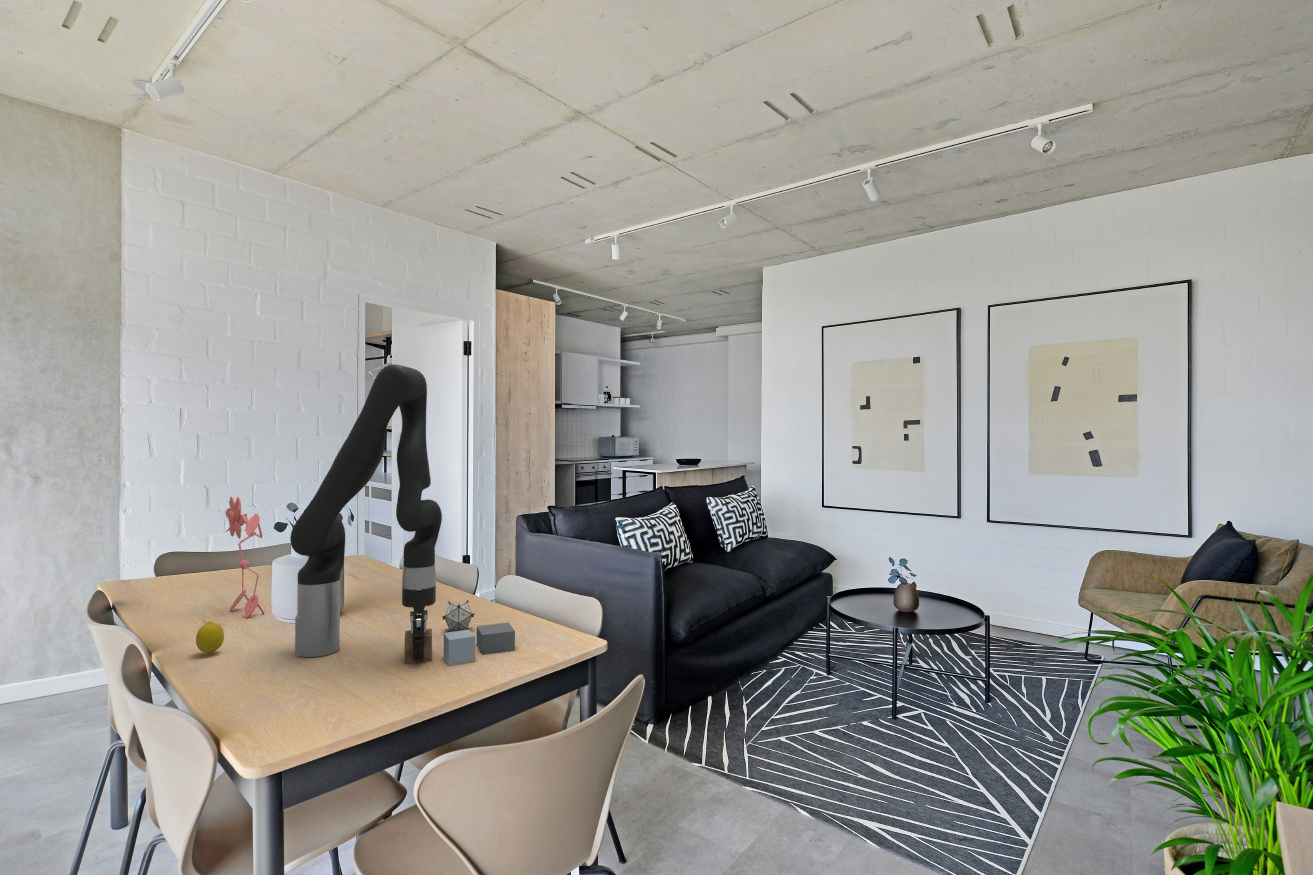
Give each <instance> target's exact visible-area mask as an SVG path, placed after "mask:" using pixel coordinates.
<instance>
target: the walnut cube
mask: <svg viewBox="0 0 1313 875" xmlns="http://www.w3.org/2000/svg"><path fill="white" fill-rule="evenodd" d="M415 638H422V634H416V635H415ZM424 639H425V642H424V657H423V659H422V660H414V659H413V646H414V644H413V643H412V640H413V634H411V629H410V630H405V631H404V654H403V655H404V660H403V661H404V665H409V664H417V663H418V664H419V663H420V664H421V663H427V662H432V661H433V628H431V627H430V628H426V633H425V634H424Z"/></svg>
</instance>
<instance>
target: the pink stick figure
mask: <svg viewBox="0 0 1313 875" xmlns="http://www.w3.org/2000/svg"><path fill="white" fill-rule="evenodd" d="M241 502H242V501H241V498H240V497H239V496H237V497H236V499H235V498H234V497H233V496H230V497H229V501H228V505H229V507H228V508H226V510H225V516H226V518H227V520H228V524H229V527H228V528H227V530H226V531H225V532H226V533H228V532H229V534H230V536H231V537H234V536H235V535H236V538H238V539H239V540H240V539H241V537H242V526H244V525H245V529H244V532H245V533H246V534H245V535H247V536H246V537H245V538H244V539H241V540H240V541H239V543H238V544H237V545H238V549H239V554H240V558H241V560H240V561H239V562H238V567H239V568H240V569H241V577H242V578H241V581H242V582H241V585H242V586H241V590H242V591H241V593H240V594H239V595H238V596H237V598H236V599H235V600H234V601H233V602H232V604H231V606H230V608H229V609H230V611H232V610H233V609H234V608H236V606H237V605H238V604H239V603H240V602H241V601H242V599H243V598H245V600H246V603H245V604H244V616H245V619H248V618H249V617H250V616H251V615H252V614H253V613H254V612H255V610H256V609H257V607H258V609H259V610H260V612H261V614H263V613H265V611H264V610H263V608H262V607H261V605H260V603H259V596H258V595H257V594H256V592H257V591H256V590H257V585H258V581H259V576H260V575H259V573H257V572H255V571H254V570H252V569H251V568H249V566H250V561H249V560H247V559H244V557H243V551H242V545H241V544H242V543H243V542H245V541H246V540H248V539H250V538H252V537H253V536H256V537H258V538H260V539H263V533H262V528H261V525H260V520H261V519H260V515H259V514H258V513H254V515H252V516H251V517H250V518H248V513H244V514H242V503H241ZM257 528H258V533H259V534H258V533H257V531H256V529H257ZM245 569H247V571H250V572H251V573H253V574H255V575H256V580H255V584H254V589H253V595H252V596H250V598H249V597H248V596H247V594H246V593H247V589H245V590H244V572H245V571H244V570H245ZM247 617H248V618H247Z"/></svg>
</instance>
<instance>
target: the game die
mask: <svg viewBox="0 0 1313 875" xmlns="http://www.w3.org/2000/svg"><path fill="white" fill-rule="evenodd" d="M469 602H470V601H469V599H468V600H466V601H465V602H455V603H454V602H453V603H451V601H449V600H448V602H447V603H448V607H447V610H446V612H445V614H444V615H442V620H443V621H445V623H446V626H447V627H448V631H447V633H448V632H454V631H462V630H469V629H468V628H469V625H470V623H471V620H472V618H474V617H475V615H476V614H475V613H474V612H472V610H471V608H470V606H469Z"/></svg>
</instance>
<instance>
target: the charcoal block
mask: <svg viewBox="0 0 1313 875" xmlns="http://www.w3.org/2000/svg"><path fill="white" fill-rule="evenodd" d="M476 647H477V648H478V651H479V652H480V654H481V656H484V655H491V654H497V653H505V652H512V651H515V650H516V631H515V629H514V627H512V625H511V623H510V622H509V621H508V622H500V623H492V624H491V623H490V624H482V625H476Z"/></svg>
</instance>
